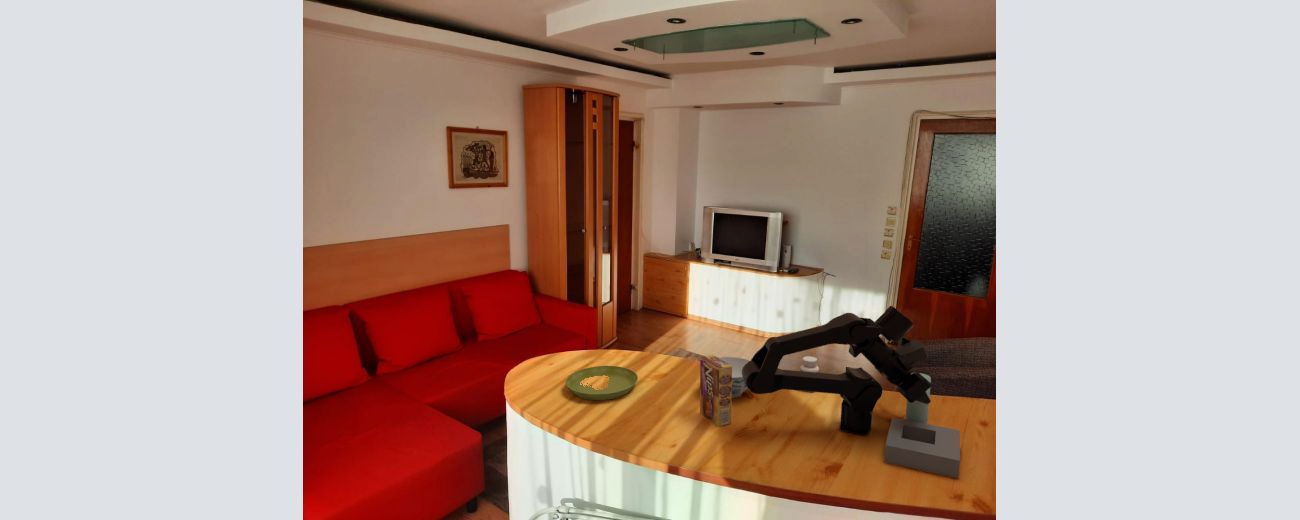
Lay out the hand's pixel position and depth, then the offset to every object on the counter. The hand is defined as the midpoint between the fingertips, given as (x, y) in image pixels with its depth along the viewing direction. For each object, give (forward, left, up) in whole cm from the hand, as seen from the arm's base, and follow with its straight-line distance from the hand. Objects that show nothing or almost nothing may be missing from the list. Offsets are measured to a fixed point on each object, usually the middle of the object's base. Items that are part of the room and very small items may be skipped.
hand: (923, 397), depth 135 cm
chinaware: (-48, -2, -8) cm, 49 cm away
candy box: (-46, -18, -8) cm, 50 cm away
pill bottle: (-29, +10, -8) cm, 32 cm away
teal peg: (-1, -1, -7) cm, 7 cm away
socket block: (+1, -14, -7) cm, 16 cm away
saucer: (-82, -15, -8) cm, 84 cm away
